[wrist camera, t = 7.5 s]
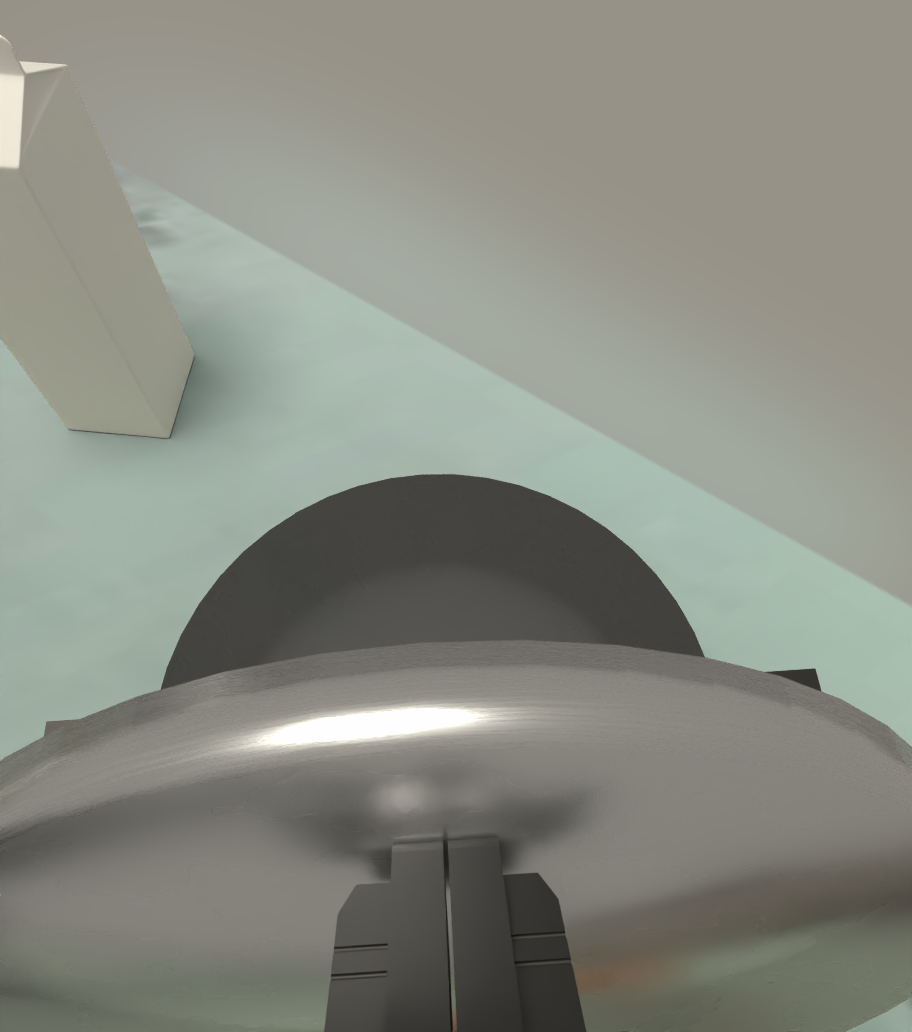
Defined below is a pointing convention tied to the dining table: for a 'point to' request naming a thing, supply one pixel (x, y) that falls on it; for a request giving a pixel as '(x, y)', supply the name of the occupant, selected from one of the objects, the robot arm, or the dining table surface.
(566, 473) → the dining table surface
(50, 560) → the dining table surface
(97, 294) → the milk
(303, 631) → the cooker pot
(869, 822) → the lid
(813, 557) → the dining table surface
